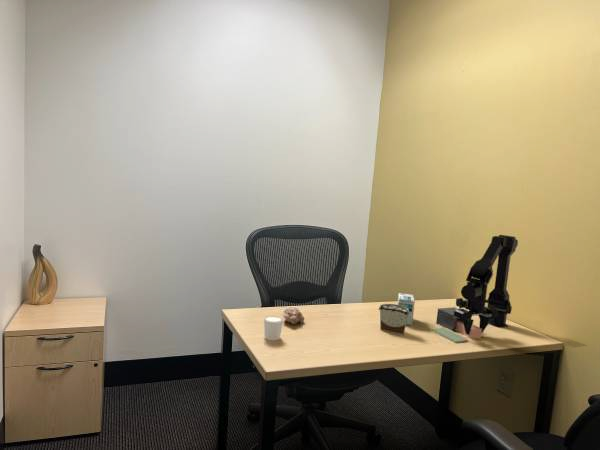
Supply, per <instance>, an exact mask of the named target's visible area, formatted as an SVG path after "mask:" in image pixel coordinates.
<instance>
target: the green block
mask: <svg viewBox="0 0 600 450" xmlns="http://www.w3.org/2000/svg"><path fill="white" fill-rule="evenodd" d="M431 331H432V332H434V333H436V334H437V335H439V336H441V337H443V338H445V339H447V340H449V341H451V342H453V343H455V344H456V343H464V342H465V343H466V342H469V339H467V337H466V338H465V337H463V336H462V335H459V334H457V333H455V332H454V331H451V330H449V329H447V328H445V327H438V328H431Z"/></svg>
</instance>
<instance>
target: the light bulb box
mask: <svg viewBox="0 0 600 450" xmlns="http://www.w3.org/2000/svg"><path fill="white" fill-rule="evenodd" d="M397 298H398V299H397V305H401V306H404V307H406V308H408V309H409V314H410V316H409V314H408V317H407V322H406V326H407V325H408V326H413V323H414V322H413V320H414V311H415V303H416V302H415V295H414V294H408V293H401V292H398V297H397Z"/></svg>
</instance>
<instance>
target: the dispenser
mask: <svg viewBox="0 0 600 450" xmlns="http://www.w3.org/2000/svg"><path fill="white" fill-rule="evenodd" d="M456 309H458V308H456V307H443V308H441V307H440V308H437V312H436V313H437V314H436V321H435V322H436V324H438V325H439V326H441V327H442V328H445V329H447V330H449V331H451V332H455V331H456V330H455V326H456V319H458V317H456V316H454V310H456Z"/></svg>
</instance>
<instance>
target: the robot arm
mask: <svg viewBox="0 0 600 450" xmlns="http://www.w3.org/2000/svg"><path fill="white" fill-rule="evenodd" d="M518 244H519V240H518V239H517V237H516V236H513V235H505V234H499V235H495V236H492V238H491V242H490V244H489V245H488V246H487V248H486V251H485V252H484V254H483V256H482V257H481V259H478V260H476V261H475V262H474V263H473V265H472V266H471V267H470V269H469V272H468V274H467V277H466V279H465V281H466V285H464V286H463V287H461V291H460V294H461V296H462V297H463V298H462V297H460V298H456V299H455V306H456V307H458V308H457V309H456V310H454V316H456V317H458V318H460V319H461V320H462V321H463V324H464V328H465V332H466V334H467V335H469V332H470V330H471V327H472V324H473V323H474V321H475V320H474V319H472V317H474V316H478V318H479V326H478V327H479V328H481V329H482V333H484V331H485V330H486V328H487V327H488V325H491V326H495V327H497V328H502V327H509V324H507V316H508V315H511V314H512V310H513V307H512V304H511V301H510V294H509V292H508V289H507V285H508V279H509V270H510V264H511V263H510V262H511V257H512V255H514V253H515V252H516V250H517V247H518ZM496 261H497V265H496V266H497V267H496V273H495V280H494V288H493V289H492V291H490V292H489V293H488V297H487V292H488V285H489V284H490V282H491V280H492V277H493V276H494V273H493V272H494V270H493V266H494V264H495V262H496ZM464 299H465V300H464ZM486 303H487V306H486ZM473 325H474V324H473Z"/></svg>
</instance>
